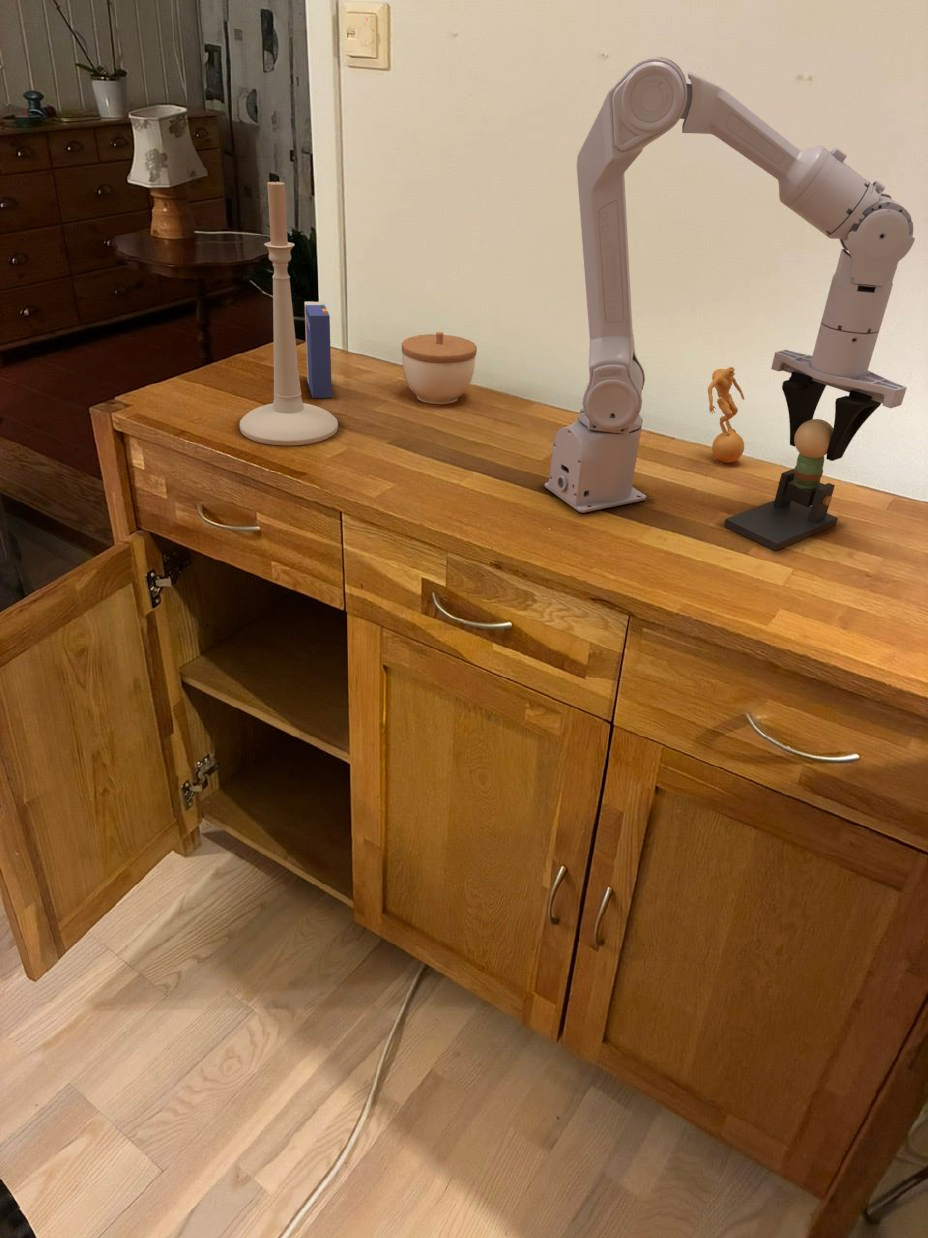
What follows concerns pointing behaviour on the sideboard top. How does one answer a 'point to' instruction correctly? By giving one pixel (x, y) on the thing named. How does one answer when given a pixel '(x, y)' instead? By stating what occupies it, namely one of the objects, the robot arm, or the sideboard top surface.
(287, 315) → the candlestick
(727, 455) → the figurine
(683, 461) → the sideboard top surface
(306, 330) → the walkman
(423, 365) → the trinket box
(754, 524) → the toy stand
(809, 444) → the peg doll
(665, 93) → the robot arm
